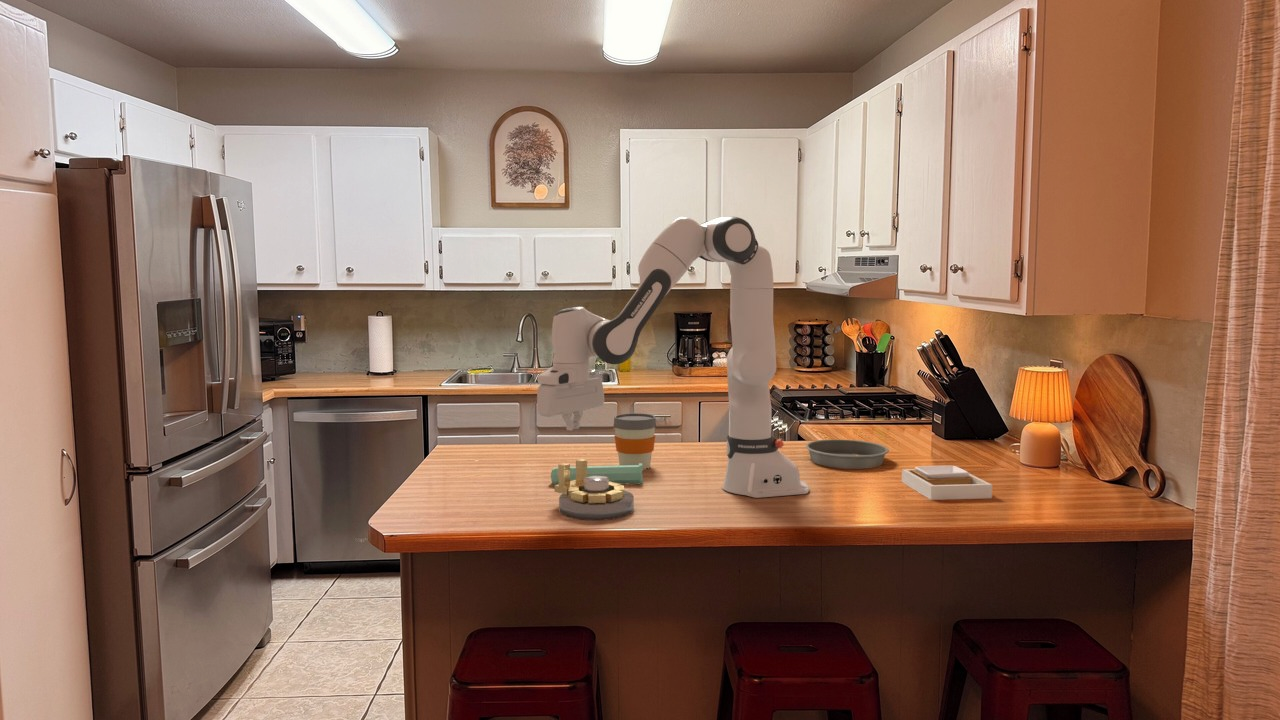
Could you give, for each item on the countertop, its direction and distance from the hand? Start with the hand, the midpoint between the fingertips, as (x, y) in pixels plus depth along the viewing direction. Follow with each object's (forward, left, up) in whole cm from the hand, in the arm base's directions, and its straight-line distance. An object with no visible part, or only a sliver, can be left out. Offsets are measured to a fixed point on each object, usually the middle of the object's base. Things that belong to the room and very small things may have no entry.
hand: (572, 429), depth 201 cm
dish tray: (-97, -3, -19) cm, 99 cm away
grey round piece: (-5, +6, -19) cm, 20 cm away
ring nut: (-4, +4, -15) cm, 16 cm away
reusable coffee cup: (-18, -37, -19) cm, 46 cm away
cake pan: (-83, -39, -19) cm, 94 cm away
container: (-6, -19, -19) cm, 28 cm away
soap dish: (-98, -6, -19) cm, 100 cm away
